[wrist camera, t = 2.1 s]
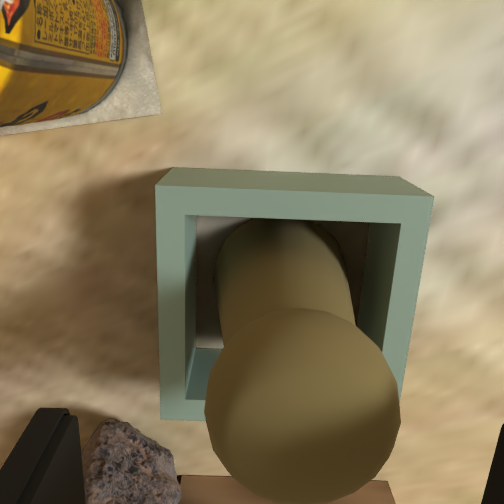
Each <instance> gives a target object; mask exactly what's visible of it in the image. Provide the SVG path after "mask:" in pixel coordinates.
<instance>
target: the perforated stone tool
mask: <svg viewBox="0 0 504 504" xmlns="http://www.w3.org/2000/svg"><path fill="white" fill-rule="evenodd" d="M81 457H82V468H83V478H84V489H85V499H86V504H178V503H179V501H180V500H181V497H182V493H181V486H180V485H179V483H178V481H177V475H176V472H175V469H174V461H173V455H172V454H171V452H170V450H169V449H166V448H164V447H162V446H160V445H159V444H158V443H156V441H152V440H151V439H148V438H147V437H145V436H144V435H142V434H141V433H140V431H139V430H138V429H135V428H133V427H132V426H131V425H130V424H129V423H128V422H120V421H118V420H114V419H113V418H112V419H108V420H106V421H105V422H103V423H101V424H100V425H99V427H98V428H97V429H96V430H95V432H94V433H93V435H92V437H91V438H90V440H89V441H88V443H87V445H86V447H85V448H84V450H83V452H82V454H81Z"/></svg>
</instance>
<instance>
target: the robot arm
mask: <svg viewBox="0 0 504 504" xmlns="http://www.w3.org/2000/svg"><path fill="white" fill-rule="evenodd" d="M0 504H86V499H85V489H84V478H83V468H82V457H81V447H80V436H79V426H78V418H77V416H73V415H70V413H69V410H68V409H66V408H40V409H38V410H37V411H36V413H35V414H34V416H33V418H32V419H31V421H30V422H29V424H28V426H27V427H26V429H25V431H24V432H23V434H22V435H21V437H20V439H19V440H18V442H17V444H16V445H15V447H14V448H13V450H12V452H11V453H10V455H9V457H8V458H7V460H6V461H5V463H4V465H3V466H2V468H1V470H0ZM481 504H504V424H503V425H502V427H501V431H500V434H499V438H498V442H497V446H496V450H495V453H494V457H493V461H492V465H491V468H490V472H489V476H488V480H487V484H486V487H485V491H484V495H483V499H482V503H481Z"/></svg>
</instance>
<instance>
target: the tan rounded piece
mask: <svg viewBox="0 0 504 504" xmlns="http://www.w3.org/2000/svg"><path fill="white" fill-rule="evenodd" d="M213 279H214V286H215V292H216V298H217V305H218V311H219V318H220V324H221V330H222V337H223V343H224V348H223V349H222V351H221V353H220V355H219V356H218V358H217V360H216V362H215V364H214V366H213V368H212V370H211V371H210V373H209V379H208V385H207V392H206V400H205V407H204V415H205V419H206V423H207V427H208V431H209V435H210V439H211V443H212V447H213V450H214V452H215V453H216V455H217V456H218V458H219V459H220V461H221V462H222V464H223V465H224V467H225V468H226V469H227V471H228V472H229V473H230V474H231V475H232V476H233V478H234V479H235V480H237V481H238V482H239V483H241V484H242V485H243V486H244V487H246V488H247V489H248V490H250V491H251V492H252V493H254V494H255V495H258V496H261V497H263V498H266V499H269V500H271V501H274V502H277V503H281V504H322V503H329V502H332V501H335V500H337V499H340V498H342V497H345V496H347V495H350V494H352V493H355V492H356V491H357V490H359V489H360V488H361V487H363V486H364V485H365V484H366V483H368V482H369V481H370V480H372V479H373V478H374V477H375V476H376V475H377V473H378V472H379V471H380V469H381V468H382V466H383V465H384V464H385V462H386V461H387V459H388V458H389V456H390V454H391V452H392V449H393V447H394V444H395V441H396V437H397V434H398V430H399V427H400V424H401V419H400V407H399V396H398V385H397V381H396V379H395V377H394V375H393V373H392V371H391V369H390V367H389V365H388V363H387V361H386V359H385V357H384V356H383V354H382V352H381V350H380V348H379V347H378V346H377V345H376V344H375V343H374V342H373V341H372V340H371V339H370V338H368V337H367V336H366V335H365V334H364V333H363V332H362V331H361V330H360V329H359V328H358V327H356V324H355V319H354V313H353V307H352V302H351V296H350V290H349V284H348V279H347V273H346V267H345V262H344V257H343V255H342V253H341V250H340V248H339V246H338V244H337V242H336V240H335V239H334V238H333V237H332V236H331V235H330V234H329V233H328V232H327V231H326V230H325V229H324V228H323V227H322V226H321V225H320V224H317V223H315V222H313V221H311V220H301V219H276V218H254V219H252V220H250V221H249V222H247V223H245V224H243V225H241V226H239V227H238V228H237V229H236V230H235V231H234V232H233V233H232V234H231V235H230V236H229V237H228V238H227V239H226V240H225V241H224V243H223V245H222V247H221V249H220V251H219V253H218V255H217V258H216V261H215V269H214V277H213Z"/></svg>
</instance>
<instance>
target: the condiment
mask: <svg viewBox="0 0 504 504" xmlns="http://www.w3.org/2000/svg"><path fill="white" fill-rule="evenodd" d="M156 114H162V112H161V106H160V101H159V95H158V90H157V84H156V78H155V72H154V67H153V62H152V57H151V52H150V45H149V39H148V34H147V28H146V24H145V18H144V12H143V8H142V3H141V0H0V136H2V135H9V134H17V133H24V132H31V131H38V130H45V129H53V128H60V127H67V126H75V125H82V124H89V123H97V122H104V121H112V120H120V119H127V118H134V117H141V116H149V115H156Z"/></svg>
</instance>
